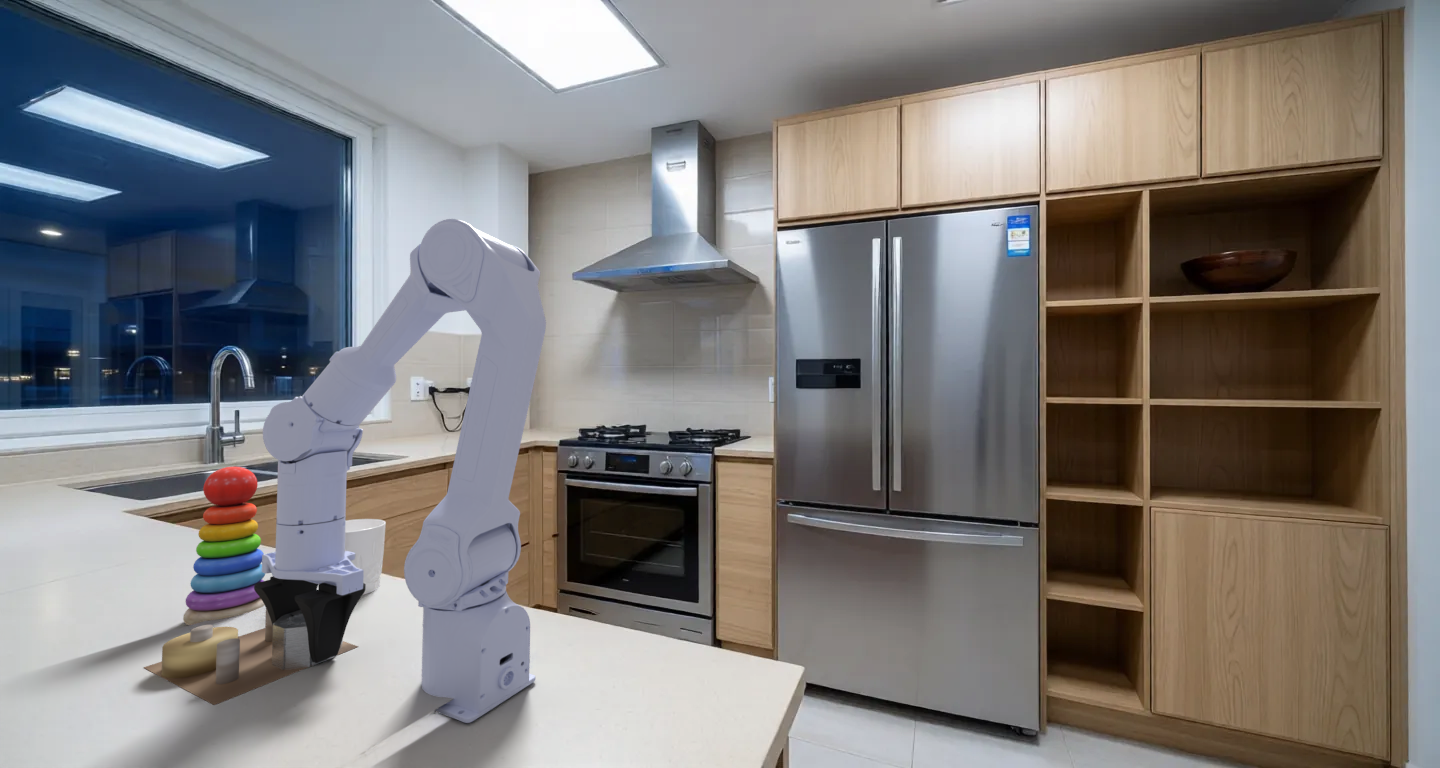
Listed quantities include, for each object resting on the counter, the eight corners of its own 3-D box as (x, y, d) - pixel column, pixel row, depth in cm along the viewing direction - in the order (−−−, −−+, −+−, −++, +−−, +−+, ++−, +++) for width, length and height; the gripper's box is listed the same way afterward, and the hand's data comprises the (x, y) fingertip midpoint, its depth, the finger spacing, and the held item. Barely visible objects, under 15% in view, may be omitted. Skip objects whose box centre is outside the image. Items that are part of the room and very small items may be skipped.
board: (358, 657, 57) (359, 613, 57) (213, 718, 46) (215, 663, 46) (285, 631, 63) (286, 591, 63) (143, 679, 52) (144, 631, 52)
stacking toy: (285, 606, 70) (290, 463, 71) (223, 632, 63) (228, 472, 63) (231, 603, 71) (236, 462, 72) (163, 629, 63) (169, 470, 64)
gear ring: (351, 650, 56) (352, 611, 56) (292, 674, 51) (293, 632, 51) (321, 639, 59) (322, 602, 59) (262, 661, 54) (263, 621, 54)
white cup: (302, 602, 72) (304, 527, 72) (364, 584, 79) (365, 516, 79) (334, 614, 68) (336, 535, 68) (396, 594, 75) (397, 522, 75)
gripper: (394, 518, 56) (391, 650, 55) (314, 505, 62) (311, 622, 62) (320, 534, 49) (316, 682, 49) (239, 517, 56) (235, 648, 55)
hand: (308, 651), depth 55 cm, fingers closed on gear ring, 5 cm apart
